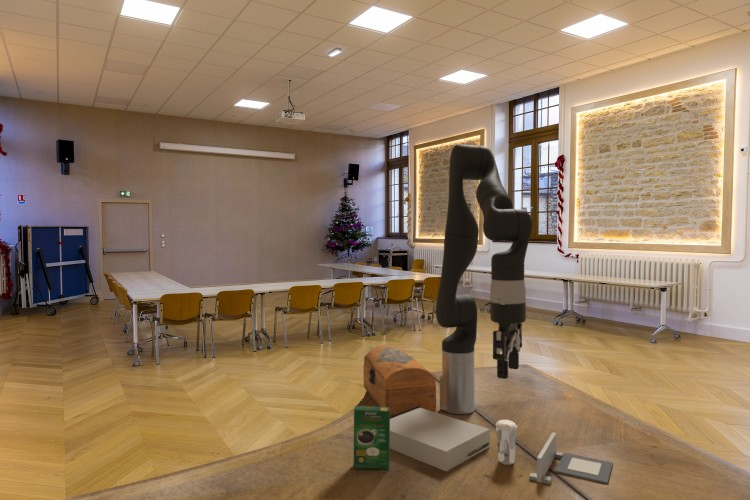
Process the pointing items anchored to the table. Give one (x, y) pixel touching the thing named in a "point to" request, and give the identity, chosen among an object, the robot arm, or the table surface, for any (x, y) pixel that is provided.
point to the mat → (585, 468)
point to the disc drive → (436, 437)
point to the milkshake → (506, 441)
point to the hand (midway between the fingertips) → (508, 373)
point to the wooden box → (398, 380)
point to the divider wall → (546, 460)
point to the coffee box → (371, 437)
